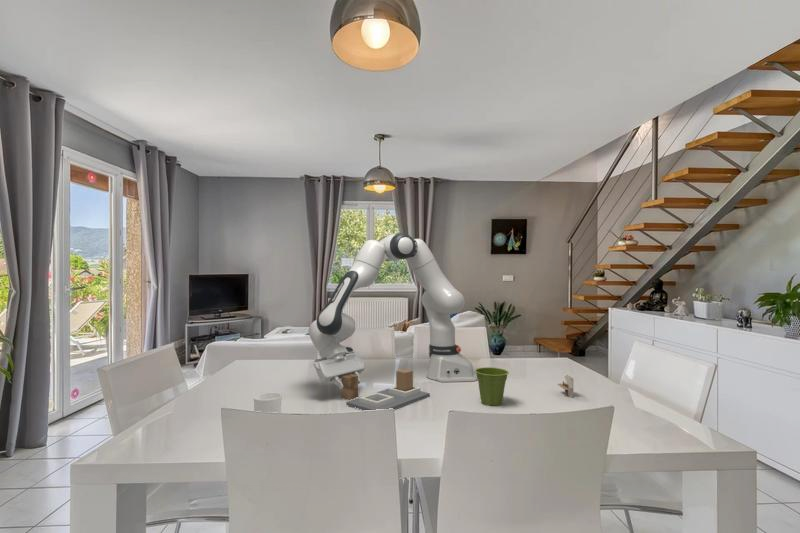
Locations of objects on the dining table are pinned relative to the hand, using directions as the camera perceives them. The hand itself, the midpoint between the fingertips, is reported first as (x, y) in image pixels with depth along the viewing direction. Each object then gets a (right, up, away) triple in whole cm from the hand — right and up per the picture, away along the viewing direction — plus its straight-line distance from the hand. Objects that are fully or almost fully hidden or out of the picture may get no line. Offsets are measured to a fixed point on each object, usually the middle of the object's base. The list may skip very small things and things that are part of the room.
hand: (350, 385), depth 155 cm
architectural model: (+81, -5, +2) cm, 81 cm away
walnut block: (0, -4, 0) cm, 4 cm away
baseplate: (+14, -4, -4) cm, 15 cm away
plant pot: (+51, -4, -7) cm, 51 cm away
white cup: (-21, -4, -31) cm, 38 cm away
